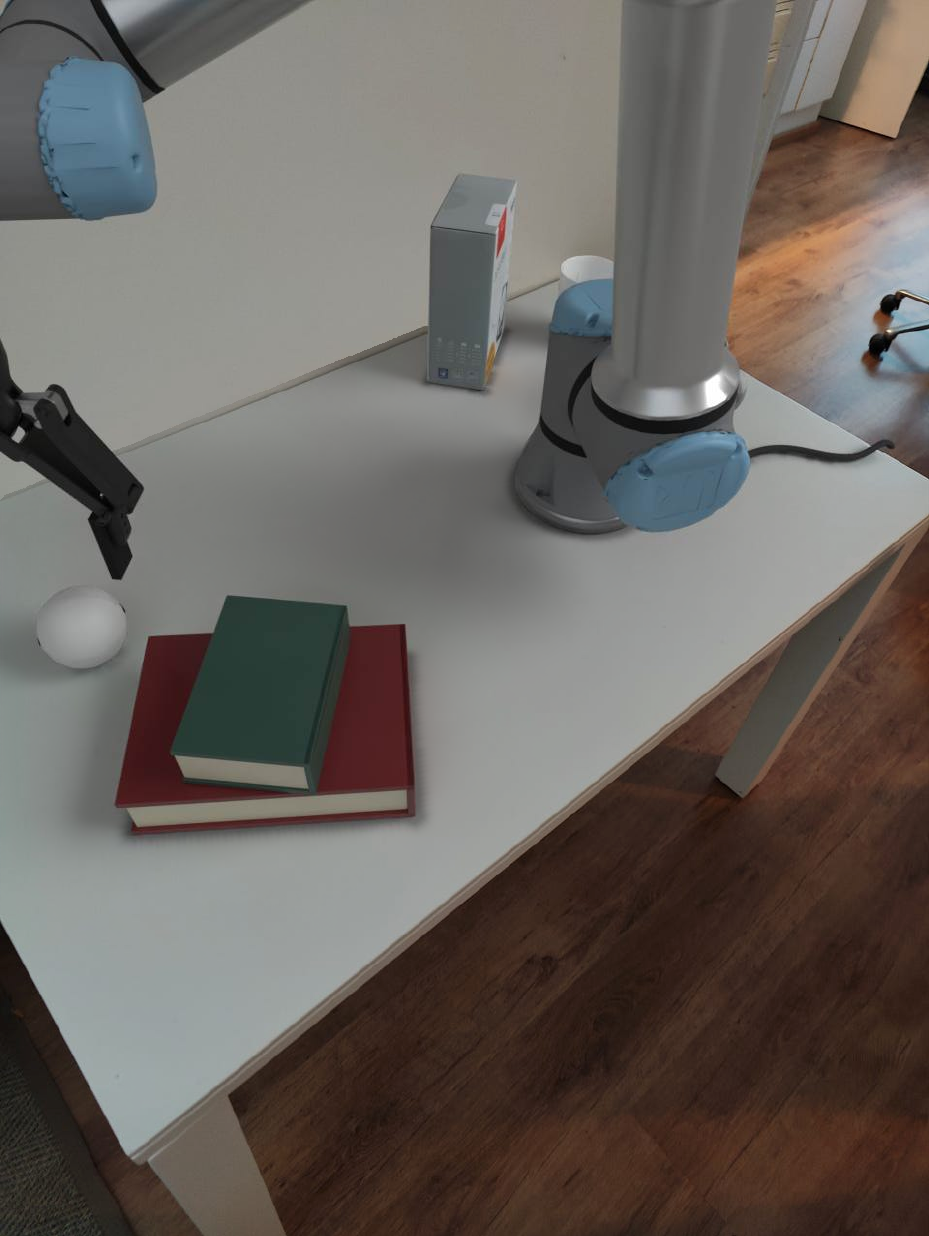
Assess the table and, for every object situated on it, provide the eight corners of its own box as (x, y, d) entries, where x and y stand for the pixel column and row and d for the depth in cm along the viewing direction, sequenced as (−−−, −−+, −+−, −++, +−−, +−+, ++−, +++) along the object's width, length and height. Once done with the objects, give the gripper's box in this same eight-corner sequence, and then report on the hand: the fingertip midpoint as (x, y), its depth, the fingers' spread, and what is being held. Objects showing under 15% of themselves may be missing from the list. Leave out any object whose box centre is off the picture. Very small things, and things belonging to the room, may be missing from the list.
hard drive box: (485, 393, 104) (495, 234, 89) (426, 384, 105) (426, 226, 89) (505, 329, 114) (518, 177, 99) (451, 322, 114) (455, 170, 99)
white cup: (548, 352, 110) (557, 280, 103) (554, 322, 115) (563, 252, 108) (607, 359, 110) (620, 288, 102) (610, 328, 115) (623, 258, 107)
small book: (350, 639, 71) (347, 605, 67) (316, 795, 61) (309, 764, 58) (236, 629, 71) (226, 594, 68) (183, 783, 61) (169, 751, 58)
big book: (406, 658, 76) (405, 623, 72) (415, 816, 66) (415, 785, 62) (162, 670, 74) (148, 635, 70) (132, 835, 64) (114, 805, 60)
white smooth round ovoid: (154, 645, 76) (133, 592, 70) (88, 699, 72) (59, 646, 66) (84, 597, 79) (58, 542, 74) (17, 645, 75) (-16, 591, 70)
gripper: (141, 305, 53) (204, 542, 69) (-238, 272, 53) (-87, 515, 70) (98, 370, 48) (177, 608, 64) (-318, 333, 49) (-136, 579, 65)
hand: (40, 560), depth 67 cm, fingers open, 13 cm apart
